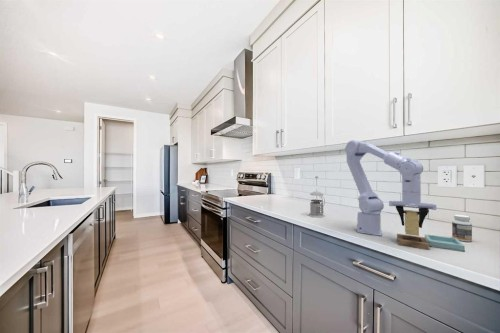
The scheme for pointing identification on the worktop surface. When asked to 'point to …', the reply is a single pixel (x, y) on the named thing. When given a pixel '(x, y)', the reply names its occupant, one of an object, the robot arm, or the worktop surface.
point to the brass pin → (412, 222)
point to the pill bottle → (462, 228)
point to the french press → (316, 205)
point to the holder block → (412, 241)
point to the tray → (444, 242)
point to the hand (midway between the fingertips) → (411, 226)
